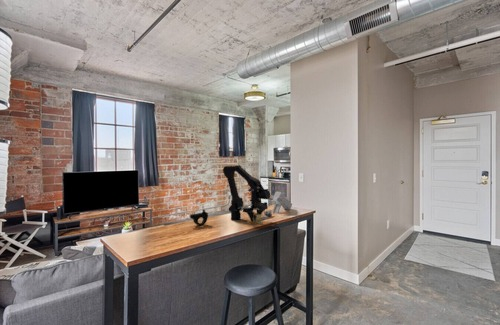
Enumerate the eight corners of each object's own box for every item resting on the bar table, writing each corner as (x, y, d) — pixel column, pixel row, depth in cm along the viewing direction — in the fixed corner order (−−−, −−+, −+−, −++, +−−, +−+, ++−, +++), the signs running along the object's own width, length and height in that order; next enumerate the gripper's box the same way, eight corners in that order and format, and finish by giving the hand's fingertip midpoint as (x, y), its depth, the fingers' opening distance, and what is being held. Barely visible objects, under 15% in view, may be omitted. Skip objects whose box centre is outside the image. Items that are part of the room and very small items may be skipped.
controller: (209, 224, 166) (208, 209, 166) (191, 227, 159) (191, 212, 159) (206, 223, 169) (206, 208, 169) (189, 226, 163) (188, 211, 163)
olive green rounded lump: (260, 223, 168) (260, 213, 168) (256, 224, 166) (256, 214, 166) (254, 221, 173) (254, 212, 173) (250, 222, 170) (250, 213, 170)
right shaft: (268, 217, 183) (268, 211, 183) (264, 217, 185) (264, 210, 185) (272, 215, 188) (272, 209, 188) (268, 215, 190) (268, 209, 190)
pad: (262, 220, 175) (262, 219, 175) (256, 218, 180) (256, 218, 180) (269, 218, 181) (269, 217, 181) (263, 216, 185) (263, 216, 185)
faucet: (292, 203, 210) (281, 191, 198) (285, 220, 203) (274, 208, 191) (286, 202, 214) (275, 190, 203) (279, 219, 207) (267, 207, 195)
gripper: (253, 201, 157) (254, 225, 157) (273, 197, 169) (273, 220, 170) (242, 199, 165) (242, 222, 165) (261, 196, 178) (261, 217, 178)
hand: (255, 220), depth 169 cm, fingers open, 6 cm apart
